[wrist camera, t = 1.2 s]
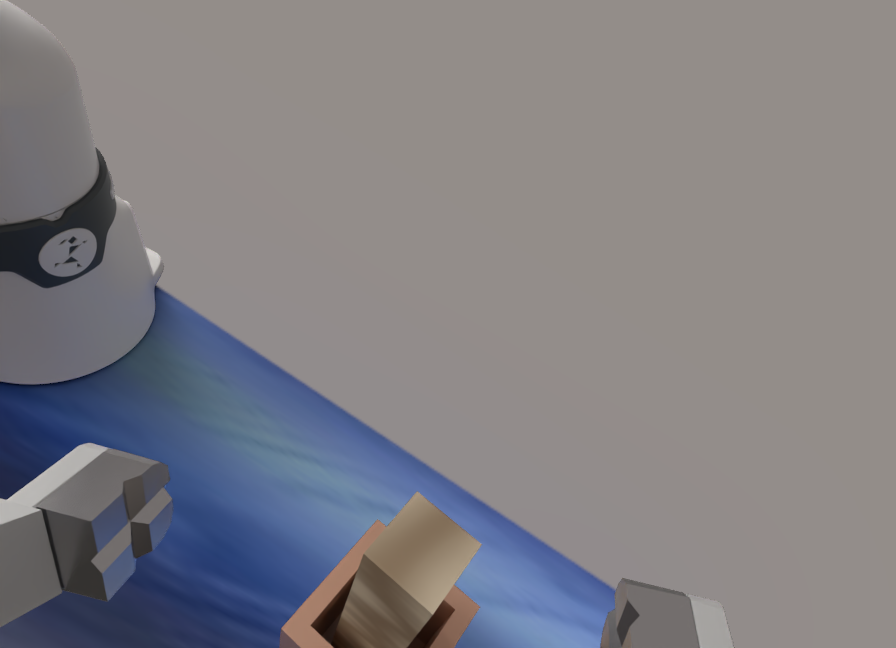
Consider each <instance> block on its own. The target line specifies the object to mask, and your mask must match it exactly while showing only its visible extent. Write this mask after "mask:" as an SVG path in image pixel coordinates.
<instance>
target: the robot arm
mask: <svg viewBox="0 0 896 648" xmlns="http://www.w3.org/2000/svg"><path fill="white" fill-rule="evenodd" d="M163 267H164V265H163V262H162V259H161V257H160V255H159V254H157V253H156V252H154V251H152V250H150V249H148V248H146V247H145V246H144V243H143V239H142V236H141V233H140V230H139V227H138V224H137V220H136V217H135V214H134V211H133V209H132V207H131V205H130V204H129V203H128V202H127V201H123V200H122V199H120V198H119V197H118V196H116V195H114V184H113V181H112V177H111V174H110V172H109V170H108V168H107V165H106V162H105V160H104V158H103V156H102V154H101V153H100V151H99V150H98V149H97V148H96V147H95V145H94V140H93V136H92V133H91V128H90V124H89V120H88V116H87V112H86V108H85V104H84V100H83V96H82V92H81V88H80V84H79V80H78V76H77V72H76V68H75V65H74V63H73V61H72V59H71V57H70V55H69V54H68V52H67V51H66V49H65V48H64V46H63V45H62V44H61V43H60V41H59V40H58V39H57V38H56V37H55V36H54V35H53V34H52V33H51V32H50V31H49V30H48V29H47V28H46V27H44V26H43V25H42V24H41V23H40V22H38V21H37V20H36V19H34V18H33V17H32V16H30V15H29V14H28V13H26V12H25V11H23V10H22V9H20V8H19V7H17V6H15V5H14V4H12V3H10V2H8V1H7V0H0V382H7V383H15V384H47V383H55V382H61V381H66V380H71V379H74V378H78V377H81V376H84V375H87V374H90V373H93V372H95V371H97V370H100V369H102V368H104V367H106V366H108V365H110V364H112V363H113V362H115V361H117V360H118V359H120V358H121V357H123V356H124V355H125V354H127V353H128V352H129V351H130V350H131V349H133V348H134V347H135V346H136V345H137V344H138V343H139V342H140V340H141V339H142V338H143V337H144V335H145V334H146V332H147V331H148V329H149V327H150V325H151V323H152V320H153V317H154V313H155V294H154V289H155V285H156V283H157V282H158V280H159V278H160V276H161V274H162V272H163ZM169 481H170V477H169V471H168V466H167V465H165V464H163V463H161V462H159V461H155V460H151V459H148V458H144V457H141V456H137V455H134V454H130V453H127V452H123V451H120V450H116V449H111V448H107V447H104V446H100V445H96V444H93V443H87V444H83V445H79V446H78V447H76V448H75V449H74V450H72V451H71V452H70V453H68V454H67V455H66V456H65V457H63V458H62V459H61V460H59V461H58V462H57V463H55V464H54V465H53V466H51V467H50V468H49V469H47V470H46V471H45V472H43V473H42V474H41V475H39V476H38V477H37V478H35V479H34V480H33V481H31V482H30V483H29V484H27V485H26V486H25V487H23V488H22V489H21V490H19V491H18V492H17V493H15V494H14V495H13V496H11V497H10V498H9V499H7V500H5V499H1V498H0V627H2V626H3V625H5V624H7V623H9V622H11V621H12V620H14V619H16V618H18V617H20V616H21V615H23V614H25V613H27V612H28V611H30V610H32V609H34V608H36V607H37V606H39V605H41V604H43V603H45V602H46V601H48V600H50V599H52V598H54V597H55V596H57V595H59V594H61V593H62V590H65V591H68V592H72V593H76V594H80V595H84V596H88V597H92V598H96V599H99V600H103V601H107V602H108V601H109V600H110V598H111V597H112V596H113V595H114V594H115V593H116V592H117V591H118V589H119V588H120V587H121V586H122V585H123V584H124V583H125V582H126V580H127V579H128V578H129V577H130V576H131V575H132V574H133V572H134V571H135V567H136V558H138V557H140V556H142V555H144V554H147V553H149V552H151V551H153V550H154V549H155V547H156V546H157V545H158V544H159V543H160V541H161V540H162V539H163V538H164V536H165V534H166V532H167V530H168V528H169V526H170V523H171V520H172V514H173V501H172V498H171V497H170V495H169V494H168V493H167V491H166V490H165V489H164V486H165V485H166V484H167V483H168V482H169ZM600 648H734V645H733V641H732V637H731V634H730V630H729V626H728V622H727V619H726V615H725V611H724V608H723V606H722V605H721V604H720V603H719V601H715V600H711V599H707V598H702V597H698V596H694V595H690V594H684V593H682V592H678V591H674V590H670V589H666V588H661V587H657V586H653V585H649V584H645V583H640V582H637V581H633V580H628V579H624V578H622V579H621V581H620V582H619V584H618V587H617V589H616V592H615V609H614V610H612V611H611V612H609V613H608V615H607V618H606V621H605V624H604V627H603V633H602V639H601V645H600Z"/></svg>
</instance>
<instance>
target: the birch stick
mask: <svg viewBox="0 0 896 648" xmlns="http://www.w3.org/2000/svg"><path fill="white" fill-rule="evenodd" d="M481 545H482V544H481V543H479V542H478V541H477V540H476V539H475V538H473V537H472V536H471V535H470V534H469V533H467V532H466V531H465V530H464V529H462V528H461V527H460V526H459V525H458V524H456V523H455V522H454V521H453V520H451V519H450V518H449V517H448V516H447V515H445V514H444V513H443V512H442V511H441V510H439V509H438V508H437V507H436V506H434V505H433V504H432V503H431V502H430V501H428V500H427V499H426V498H425V497H424V496H422V495H421V494H420V493H419V492H416V493H415V494H414V496H413V497H412V498H411V499H410V500H409V501H408V503H407V504H406V505H405V506H404V507H403V508H402V509H401V511H400V512H399V513H398V514H397V515H396V516H395V518H394V519H393V520H392V521H391V522H390V523H389V525H388V526H387V527H386V528H385V529H384V530H383V532H382V533H381V534H380V535H379V536H378V537H377V539H376V540H375V541H374V542H373V543H372V544H371V546H370V547H369V548H368V549H367V550H366V551H365V553H364V554H363V557H362V559H361V562H360V565H359V568H358V570H357V573H356V576H355V579H354V581H353V584H352V587H351V590H350V593H349V595H348V598H347V601H346V604H345V606H344V609H343V612H342V615H341V617H340V620H339V623H338V626H337V629H336V631H335V634H334V637H333V640H332V642H331V646H332V647H334V648H407V647H408V646H409V644H410V643H411V642H412V641H413V639H414V638H415V637H416V636H417V634H418V633H419V632H420V630H421V629H422V628H423V627H424V625H425V624H426V623H427V622H428V620H429V619H430V618H431V616H432V615H433V614H434V612H435V611H436V609H437V608H438V607H439V605H440V604H441V602H442V601H443V599H444V598H445V597H446V595H447V594H448V592H449V591H450V589H451V588H452V587H453V585H454V584H455V582H456V581H457V579H458V578H459V577H460V575H461V574H462V572H463V571H464V569H465V568H466V567H467V565H468V564H469V562H470V561H471V559H472V558H473V557H474V555H475V554H476V552H477V551H478V549H479V548H480V547H481Z"/></svg>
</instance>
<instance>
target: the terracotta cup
mask: <svg viewBox="0 0 896 648" xmlns="http://www.w3.org/2000/svg"><path fill="white" fill-rule="evenodd" d="M385 528H386V526H385V525H384V524H383V523H381V522H380V521H379V520H378V519H377V520H376V522H375V523H374V524H373V525H372V526H371V527H370V528H369V530H368V531H367V532H366V533H365V534H364V535H363V536H362V537H361V539H360V540H359V541H358V542H357V543H356V544H355V545H354V547H353V548H352V549H351V550H350V551H349V552H348V553H347V554H346V556H345V557H344V558H343V559H342V560H341V561H340V562H339V564H338V565H337V566H336V567H335V568H334V569H333V570H332V571H331V573H330V574H329V575H328V576H327V577H326V578H325V579H324V581H323V582H322V583H321V584H320V585H319V586H318V587H317V588H316V590H315V591H314V592H313V593H312V594H311V595H310V596H309V598H308V599H307V600H306V601H305V602H304V603H303V604H302V605H301V607H300V608H299V609H298V610H297V611H296V612H295V613H294V615H293V616H292V617H291V618H290V619H289V620H288V621H287V622H286V624H285V625H284V626H283V627H282V628H281V635H280V647H279V648H334V647H332V646H331V642H332V640H333V637H334V634H335V631H336V629H337V626H338V623H339V620H340V617H341V615H342V612H343V609H344V606H345V604H346V601H347V598H348V595H349V593H350V590H351V587H352V584H353V581H354V579H355V576H356V573H357V570H358V568H359V565H360V562H361V559H362V557H363V554H364V553H365V551H366V550H367V549H368V548H369V547H370V546H371V544H372V543H373V542H374V541H375V540H376V539H377V537H378V536H379V535H380V534H381V533H382V532H383V530H384V529H385ZM479 608H480V606H478V605H477V604H476V603H475V602H474V601H473V600H471V599H470V598H469V597H468V596H467V595H466V594H464V593H463V592H462V591H461V590H460V589H459V588H457V587H456V586H455V585H453V587H452V588H451V589H450V591H449V592H448V594H447V595H446V597H445V598H444V599H443V601H442V602H441V604H440V605H439V607H438V608H437V609H436V611H435V612H434V614H433V615H432V616H431V618H430V619H429V620H428V622H427V623H426V624H425V625H424V627H423V628H422V629H421V630H420V632H419V633H418V634H417V636H416V637H415V638H414V639H413V641H412V642H411V643H410V644H409V646H408V647H407V648H454V647H455V645H456V644H457V642H458V641H459V639H460V637H461V636H462V634H463V633H464V631H465V630H466V628H467V627H468V625H469V623H470V622H471V620H472V619H473V617H474V616H475V614H476V613H477V611H478V609H479Z"/></svg>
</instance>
